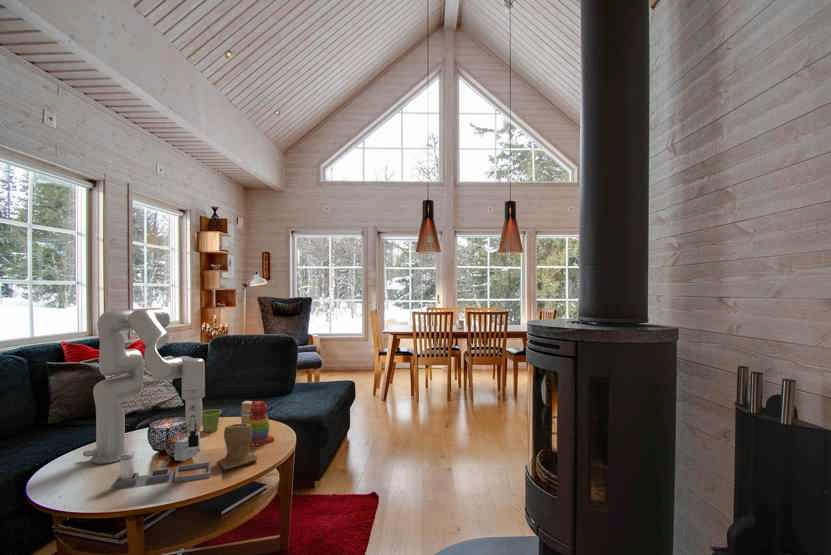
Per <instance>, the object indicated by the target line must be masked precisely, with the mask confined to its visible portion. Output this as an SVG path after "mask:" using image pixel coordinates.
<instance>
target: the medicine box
mask: <svg viewBox="0 0 831 555" xmlns="http://www.w3.org/2000/svg"><path fill="white" fill-rule="evenodd" d="M196 455H198V453H195V454H188V437H187V436H185V438H184V437H182V438H180V439H178V440H176V441H175V442H174V461H180V462H185V461H187V460H189V459H191V458H192V457H195V456H196Z"/></svg>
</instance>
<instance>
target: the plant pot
mask: <svg viewBox="0 0 831 555" xmlns="http://www.w3.org/2000/svg"><path fill="white" fill-rule="evenodd" d="M221 413H222V410H221V409H206V410H202V429H203V430H202V431H203V432H204V433H213V431H214V432H216V431H217V430H218V427H219V421H220V416H221Z"/></svg>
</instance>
